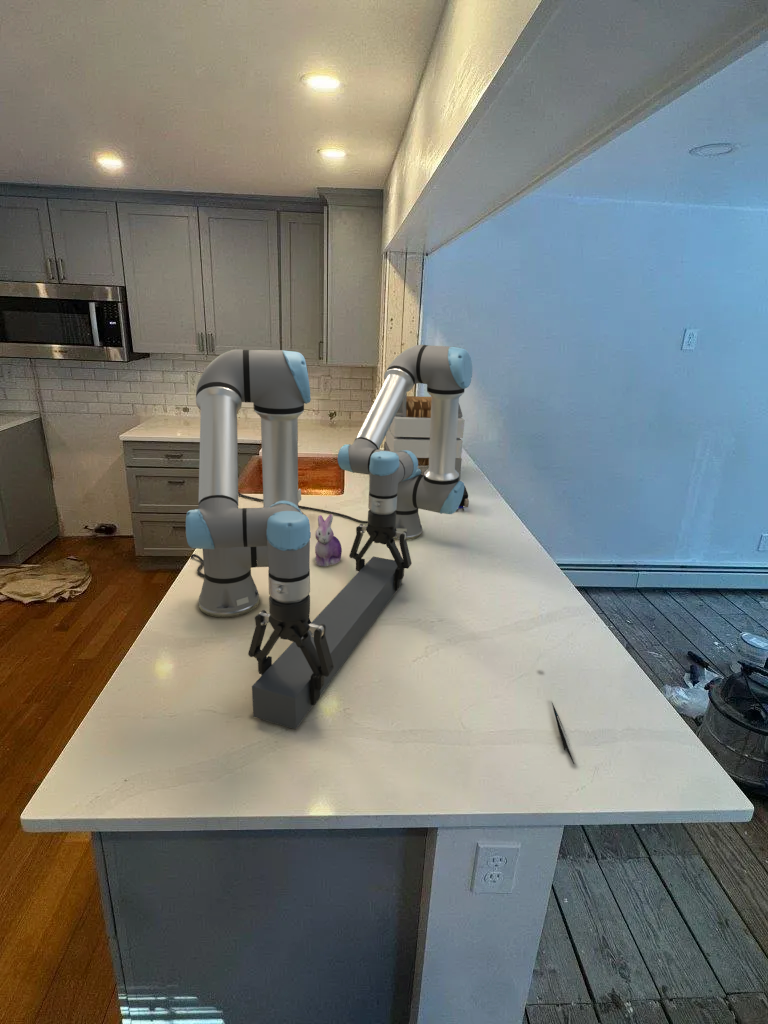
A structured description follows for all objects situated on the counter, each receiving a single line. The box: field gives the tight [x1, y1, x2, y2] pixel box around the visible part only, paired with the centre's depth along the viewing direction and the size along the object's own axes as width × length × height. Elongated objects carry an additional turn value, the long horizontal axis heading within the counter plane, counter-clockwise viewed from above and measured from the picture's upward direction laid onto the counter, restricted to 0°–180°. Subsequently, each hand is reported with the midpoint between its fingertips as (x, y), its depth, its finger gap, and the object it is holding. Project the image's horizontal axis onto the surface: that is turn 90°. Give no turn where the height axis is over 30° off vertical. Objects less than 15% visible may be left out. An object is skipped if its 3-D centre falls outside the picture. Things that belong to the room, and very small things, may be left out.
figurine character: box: [455, 485, 470, 512], centre depth 229 cm, size 7×8×15 cm
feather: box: [540, 670, 575, 765], centre depth 113 cm, size 2×28×2 cm
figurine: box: [314, 513, 343, 567], centre depth 173 cm, size 9×10×15 cm
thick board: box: [251, 556, 403, 730], centre depth 135 cm, size 65×9×7 cm, turn 161°
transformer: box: [383, 392, 465, 481], centre depth 268 cm, size 34×33×41 cm
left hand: (291, 694), depth 112 cm, fingers open, 10 cm apart
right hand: (379, 585), depth 158 cm, fingers open, 10 cm apart
